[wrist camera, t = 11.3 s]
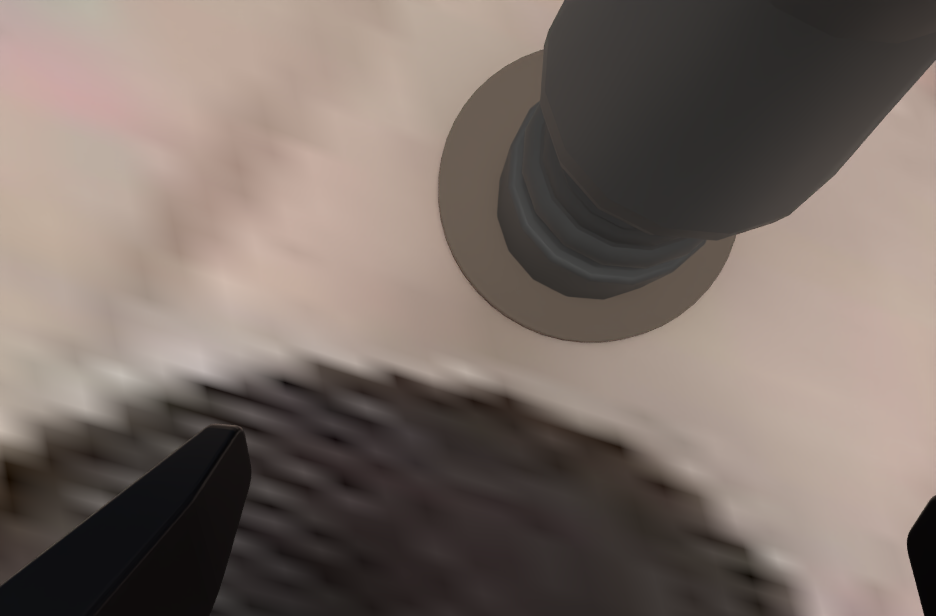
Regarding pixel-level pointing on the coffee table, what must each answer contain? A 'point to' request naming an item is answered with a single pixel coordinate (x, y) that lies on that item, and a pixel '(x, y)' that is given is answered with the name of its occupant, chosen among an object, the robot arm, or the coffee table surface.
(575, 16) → the candle holder
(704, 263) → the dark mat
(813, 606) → the coffee table surface
